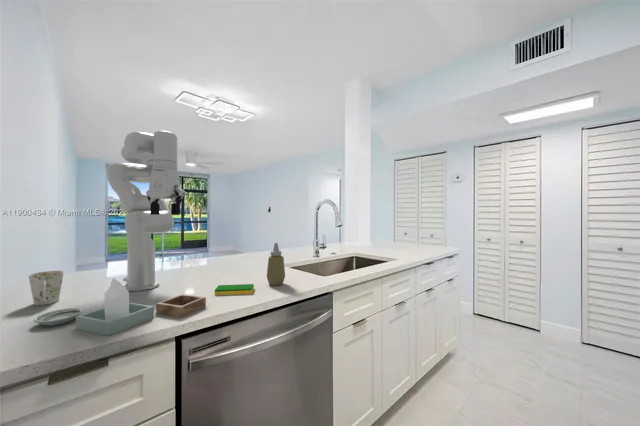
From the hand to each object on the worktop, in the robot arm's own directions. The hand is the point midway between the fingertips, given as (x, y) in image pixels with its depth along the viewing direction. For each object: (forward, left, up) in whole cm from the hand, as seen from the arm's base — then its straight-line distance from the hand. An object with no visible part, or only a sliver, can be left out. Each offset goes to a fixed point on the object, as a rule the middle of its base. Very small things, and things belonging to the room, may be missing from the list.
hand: (165, 214), depth 96 cm
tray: (+5, -20, -30) cm, 37 cm away
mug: (-33, -17, -31) cm, 48 cm away
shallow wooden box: (+14, -6, -30) cm, 34 cm away
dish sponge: (+18, +16, -31) cm, 39 cm away
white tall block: (+5, -20, -30) cm, 36 cm away
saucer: (-11, -25, -31) cm, 41 cm away
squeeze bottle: (+28, +31, -31) cm, 52 cm away
